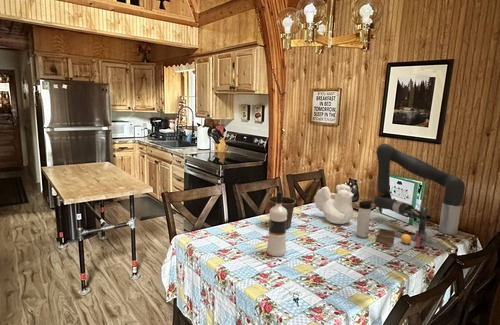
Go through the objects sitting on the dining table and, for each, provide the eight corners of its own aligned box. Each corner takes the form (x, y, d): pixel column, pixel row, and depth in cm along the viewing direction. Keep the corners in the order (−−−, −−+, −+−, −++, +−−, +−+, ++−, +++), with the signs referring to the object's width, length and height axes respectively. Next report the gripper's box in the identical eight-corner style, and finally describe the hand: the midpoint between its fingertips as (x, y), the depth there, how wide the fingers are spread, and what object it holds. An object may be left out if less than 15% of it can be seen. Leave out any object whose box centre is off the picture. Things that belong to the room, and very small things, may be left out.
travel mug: (369, 239, 173) (373, 203, 170) (356, 237, 174) (360, 202, 171) (367, 234, 179) (371, 200, 176) (355, 233, 180) (358, 199, 177)
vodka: (282, 258, 146) (286, 195, 141) (263, 254, 150) (266, 193, 145) (288, 250, 155) (291, 191, 150) (270, 247, 158) (272, 188, 153)
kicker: (415, 237, 177) (419, 205, 174) (425, 239, 175) (429, 207, 172) (415, 246, 164) (419, 213, 161) (426, 248, 162) (431, 214, 159)
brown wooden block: (377, 234, 180) (378, 227, 179) (394, 237, 176) (395, 230, 176) (376, 242, 169) (376, 234, 169) (393, 245, 166) (394, 238, 165)
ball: (400, 240, 172) (401, 232, 172) (410, 242, 170) (411, 233, 169) (400, 244, 168) (401, 235, 167) (410, 246, 166) (411, 237, 165)
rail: (386, 232, 184) (386, 230, 183) (431, 240, 174) (431, 238, 174) (385, 235, 179) (385, 233, 179) (432, 244, 169) (432, 241, 169)
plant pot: (298, 225, 190) (300, 199, 188) (287, 233, 177) (288, 205, 174) (274, 219, 199) (276, 194, 196) (261, 227, 185) (263, 200, 183)
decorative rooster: (357, 223, 197) (360, 184, 193) (342, 229, 187) (345, 187, 183) (324, 213, 216) (327, 177, 212) (309, 217, 206) (311, 179, 202)
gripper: (394, 203, 182) (418, 212, 166) (413, 201, 187) (438, 210, 171) (392, 215, 183) (417, 226, 167) (411, 214, 188) (437, 224, 172)
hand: (427, 218), depth 169 cm, fingers closed on kicker, 3 cm apart
